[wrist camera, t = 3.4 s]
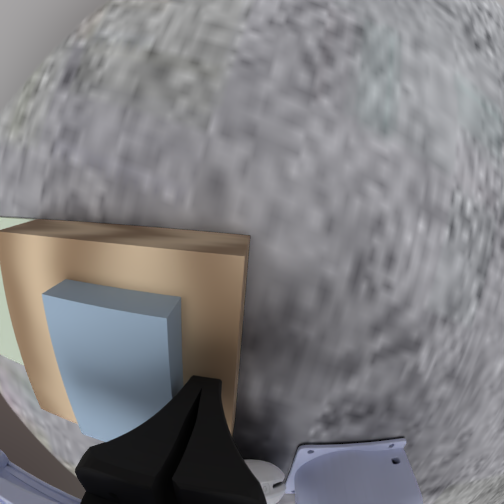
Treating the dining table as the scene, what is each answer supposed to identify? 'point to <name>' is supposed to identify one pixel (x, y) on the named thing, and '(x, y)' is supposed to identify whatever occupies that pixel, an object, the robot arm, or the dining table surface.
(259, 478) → the photo printer
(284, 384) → the dining table surface
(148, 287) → the light brown flat block
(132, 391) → the blue box
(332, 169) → the dining table surface
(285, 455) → the dining table surface
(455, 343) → the dining table surface
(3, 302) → the mat
